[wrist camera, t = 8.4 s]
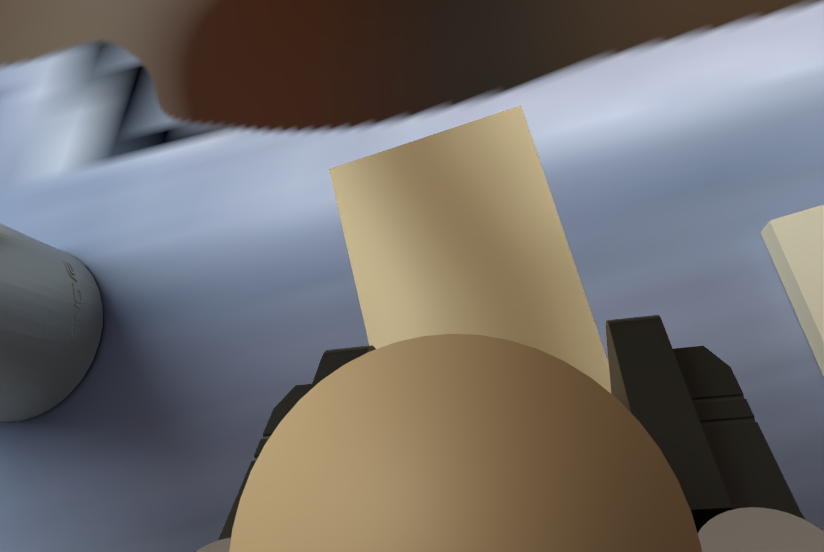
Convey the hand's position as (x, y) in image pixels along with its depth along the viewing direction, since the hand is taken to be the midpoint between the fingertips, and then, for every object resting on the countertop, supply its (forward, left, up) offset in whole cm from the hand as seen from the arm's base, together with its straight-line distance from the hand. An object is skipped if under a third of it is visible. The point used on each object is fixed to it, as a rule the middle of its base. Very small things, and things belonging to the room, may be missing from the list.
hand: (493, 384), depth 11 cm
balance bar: (0, -2, -6) cm, 7 cm away
